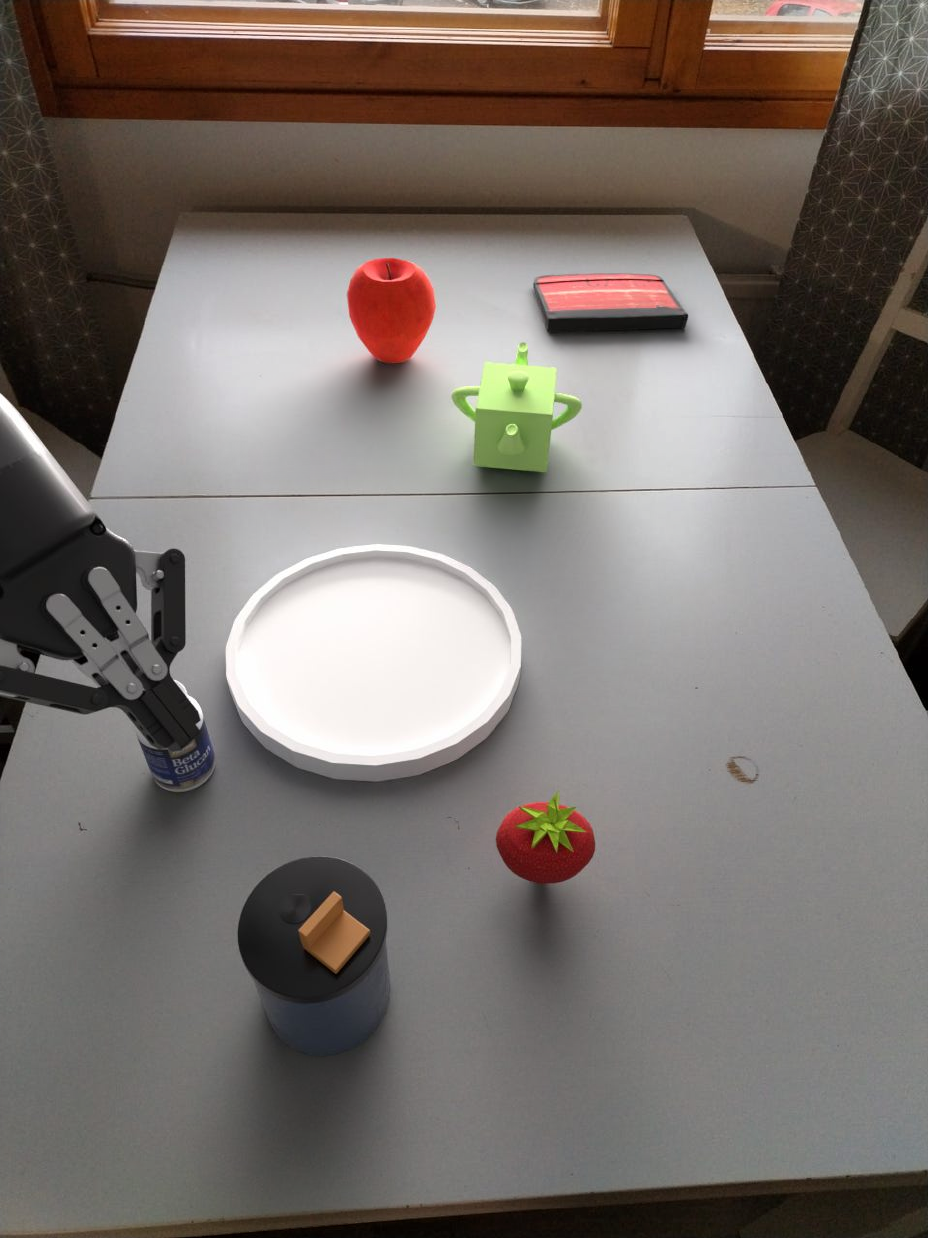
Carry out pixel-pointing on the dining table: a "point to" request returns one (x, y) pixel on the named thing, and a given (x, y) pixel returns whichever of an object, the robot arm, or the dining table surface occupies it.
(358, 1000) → the travel cup
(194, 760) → the pill bottle
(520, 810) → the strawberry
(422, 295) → the apple
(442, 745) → the plate
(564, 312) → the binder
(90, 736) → the dining table surface
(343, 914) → the orange l-shaped block
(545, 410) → the teapot
